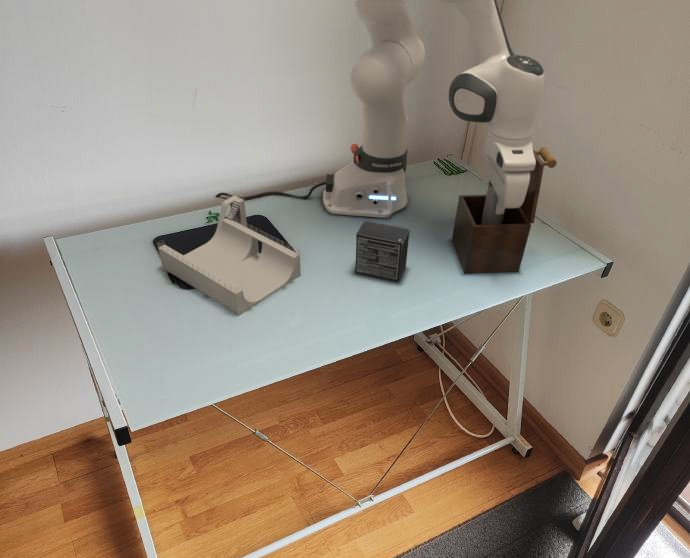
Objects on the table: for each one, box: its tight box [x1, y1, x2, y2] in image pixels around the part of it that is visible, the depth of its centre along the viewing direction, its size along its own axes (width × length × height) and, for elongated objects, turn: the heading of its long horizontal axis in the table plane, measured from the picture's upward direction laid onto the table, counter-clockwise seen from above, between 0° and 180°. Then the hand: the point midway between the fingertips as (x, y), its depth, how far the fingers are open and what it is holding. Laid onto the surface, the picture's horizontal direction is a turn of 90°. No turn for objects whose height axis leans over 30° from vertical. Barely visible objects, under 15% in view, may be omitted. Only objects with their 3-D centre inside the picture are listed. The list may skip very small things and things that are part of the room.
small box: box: [354, 220, 411, 284], centre depth 128 cm, size 11×6×10 cm, turn 71°
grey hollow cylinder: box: [481, 182, 505, 225], centre depth 127 cm, size 4×4×10 cm
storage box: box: [450, 194, 532, 275], centre depth 132 cm, size 13×14×12 cm
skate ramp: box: [157, 190, 302, 316], centre depth 128 cm, size 25×23×10 cm
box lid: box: [520, 146, 558, 225], centre depth 124 cm, size 13×14×5 cm
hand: (495, 205), depth 127 cm, fingers closed on grey hollow cylinder, 4 cm apart
